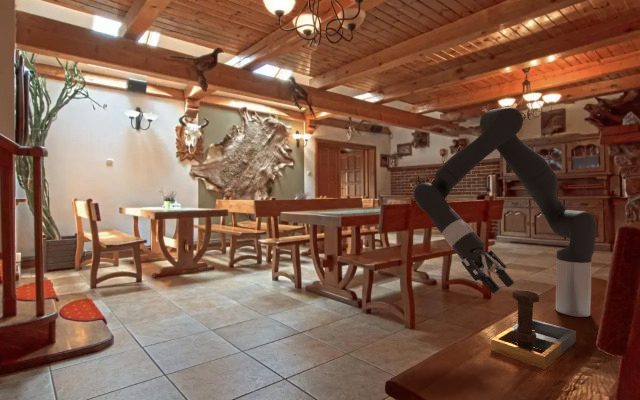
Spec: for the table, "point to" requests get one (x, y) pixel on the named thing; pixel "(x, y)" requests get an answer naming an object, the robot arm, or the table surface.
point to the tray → (536, 344)
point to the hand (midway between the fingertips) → (504, 288)
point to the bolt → (525, 318)
